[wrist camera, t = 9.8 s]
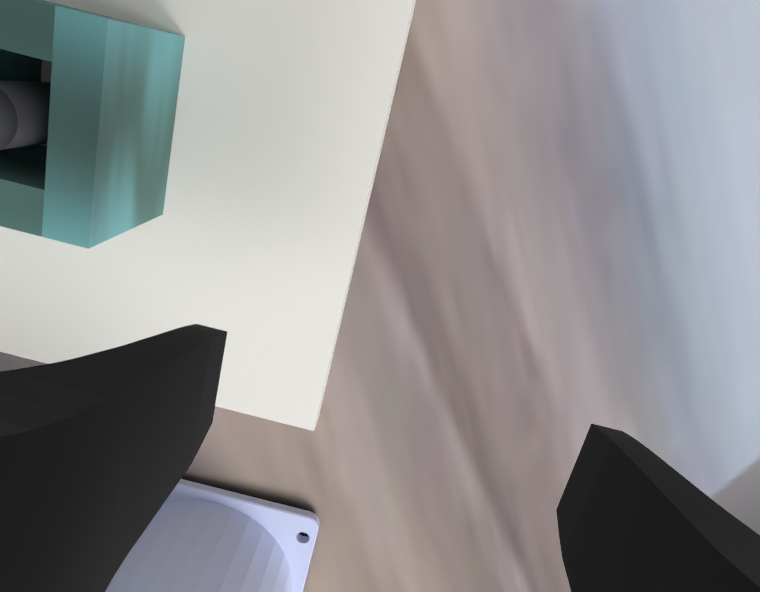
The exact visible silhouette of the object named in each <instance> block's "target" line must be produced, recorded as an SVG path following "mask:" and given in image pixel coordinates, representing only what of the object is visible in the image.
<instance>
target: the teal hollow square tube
mask: <svg viewBox="0 0 760 592" xmlns="http://www.w3.org/2000/svg"><path fill="white" fill-rule="evenodd" d="M184 42H185V36H182V35H178V34H174V33H170V32H166V31H163V30H159V29H155V28H151V27H147V26H143V25H139V24H135V23H131V22H128V21H124V20H120V19H116V18H112V17H108V16H104V15H100V14H97V13H93V12H89V11H85V10H81V9H77V8H73V7H69V6H66V5H62V4H58V3H54V2H50V1H46V0H0V81H35V82H41V70H42V60H46V61H50V62H52V72H51V89H50V106H49V123H48V140H47V147H46V146H42V145H32V146H25V147H17V148H10V149H3V150H0V226H2V227H6V228H9V229H13V230H17V231H21V232H25V233H29V234H33V235H37V236H41V237H44V238H48V239H52V240H56V241H60V242H64V243H68V244H72V245H76V246H80V247H83V248H87V249H89V248H91V247H93V246H96V245H98V244H100V243H102V242H104V241H106V240H109V239H111V238H113V237H115V236H117V235H119V234H122V233H124V232H126V231H128V230H130V229H132V228H135V227H137V226H139V225H141V224H143V223H145V222H148V221H150V220H152V219H154V218H156V217H158V216H161V215H163V210H164V202H165V194H166V186H167V178H168V170H169V162H170V154H171V146H172V138H173V130H174V122H175V114H176V106H177V98H178V90H179V82H180V74H181V66H182V58H183V50H184Z"/></svg>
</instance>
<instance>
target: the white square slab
mask: <svg viewBox="0 0 760 592" xmlns="http://www.w3.org/2000/svg"><path fill="white" fill-rule="evenodd" d="M46 1H50V2H54V3H58V4H62V5H66V6H69V7H73V8H77V9H81V10H85V11H89V12H93V13H97V14H100V15H104V16H108V17H112V18H116V19H120V20H124V21H128V22H131V23H135V24H139V25H143V26H147V27H151V28H155V29H159V30H163V31H166V32H170V33H174V34H178V35H182V36H185V42H184V50H183V58H182V66H181V74H180V82H179V90H178V98H177V106H176V114H175V122H174V130H173V138H172V146H171V154H170V162H169V170H168V178H167V186H166V194H165V202H164V210H163V215H161V216H158V217H156V218H154V219H152V220H150V221H148V222H145V223H143V224H141V225H139V226H137V227H135V228H132V229H130V230H128V231H126V232H124V233H122V234H119V235H117V236H115V237H113V238H111V239H109V240H106V241H104V242H102V243H100V244H98V245H96V246H93V247H91V248H89V249H87V248H83V247H80V246H76V245H72V244H68V243H64V242H60V241H56V240H52V239H48V238H44V237H41V236H37V235H33V234H29V233H25V232H21V231H17V230H13V229H9V228H6V227H2V226H0V352H3V353H7V354H11V355H15V356H19V357H23V358H27V359H31V360H35V361H39V362H43V363H47V364H51V363H56V362H61V361H65V360H70V359H74V358H78V357H82V356H85V355H89V354H93V353H97V352H101V351H104V350H108V349H112V348H116V347H119V346H123V345H126V344H129V343H132V342H136V341H139V340H142V339H145V338H148V337H151V336H155V335H158V334H161V333H164V332H167V331H170V330H174V329H177V328H180V327H184V326H188V325H193V324H199V325H203V326H207V327H211V328H215V329H219V330H223V331H227V337H226V343H225V349H224V355H223V361H222V367H221V373H220V379H219V385H218V391H217V397H216V403H215V406H217V407H221V408H225V409H229V410H233V411H237V412H241V413H245V414H249V415H253V416H257V417H260V418H264V419H268V420H272V421H276V422H280V423H284V424H288V425H292V426H296V427H300V428H304V429H308V430H312V431H314V429H315V426H316V423H317V421H318V418H319V414H320V409H321V405H322V401H323V397H324V392H325V388H326V384H327V380H328V375H329V371H330V367H331V362H332V358H333V354H334V350H335V345H336V341H337V337H338V333H339V328H340V324H341V320H342V316H343V311H344V307H345V303H346V298H347V294H348V290H349V286H350V281H351V277H352V273H353V269H354V264H355V260H356V256H357V251H358V247H359V243H360V239H361V234H362V230H363V226H364V222H365V217H366V213H367V209H368V204H369V200H370V196H371V192H372V187H373V183H374V179H375V175H376V170H377V166H378V162H379V158H380V153H381V149H382V145H383V140H384V136H385V132H386V128H387V123H388V119H389V115H390V111H391V106H392V102H393V98H394V93H395V89H396V85H397V81H398V76H399V72H400V68H401V64H402V59H403V55H404V51H405V46H406V42H407V38H408V34H409V29H410V25H411V21H412V17H413V12H414V8H415V4H416V0H46ZM51 72H52V62H50V61H46V60H42V70H41V82H35V81H0V150H3V149H10V148H17V147H25V146H32V145H42V146H46V147H47V140H48V123H49V106H50V89H51Z"/></svg>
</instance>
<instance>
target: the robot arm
mask: <svg viewBox="0 0 760 592" xmlns="http://www.w3.org/2000/svg"><path fill="white" fill-rule="evenodd" d="M226 337H227V331H223V330H219V329H215V328H211V327H207V326H203V325H199V324H193V325H188V326H184V327H180V328H177V329H174V330H170V331H167V332H164V333H161V334H158V335H155V336H151V337H148V338H145V339H142V340H139V341H136V342H132V343H129V344H126V345H123V346H119V347H116V348H112V349H108V350H104V351H101V352H97V353H93V354H89V355H85V356H82V357H78V358H74V359H70V360H65V361H61V362H56V363H51V364H46V365H40V366H34V367H28V368H22V369H17V370H10V371H2V372H0V592H303V588H304V584H305V580H306V576H307V572H308V568H309V565H310V561H311V557H312V553H313V549H314V545H315V541H316V537H317V533H318V529H319V525H320V520H319V518H318V516H317V515H316V514H314V513H313V512H310V511H307V510H303V509H299V508H295V507H291V506H287V505H283V504H279V503H275V502H271V501H267V500H263V499H259V498H255V497H251V496H247V495H243V494H239V493H235V492H231V491H227V490H224V489H220V488H216V487H212V486H208V485H204V484H200V483H196V482H192V481H188V480H184V479H181V478H182V477H183V475H184V474H185V472H186V471H187V469H188V468H189V466H190V465H191V463H192V461H193V460H194V458H195V456H196V454H197V452H198V450H199V448H200V446H201V444H202V442H203V440H204V438H205V436H206V434H207V432H208V430H209V428H210V426H211V424H212V421H213V415H214V409H215V403H216V397H217V391H218V385H219V379H220V373H221V367H222V361H223V355H224V349H225V343H226ZM557 519H558V528H559V537H560V544H561V551H562V558H563V562H564V566H565V570H566V573H567V577H568V581H569V584H570V588H571V592H760V535H758V534H757V533H756V532H754V531H753V530H751V529H750V528H749V527H747V526H746V525H745V524H743V523H742V522H741V521H739V520H738V519H736V518H735V517H734V516H733V515H731V514H730V513H728V512H727V511H726V510H724V509H723V508H722V507H721V506H719V505H718V504H717V503H716V502H714V501H713V500H712V499H710V498H709V497H708V496H707V495H705V494H704V493H703V492H702V491H700V490H699V489H698V488H697V487H695V486H694V485H693V484H692V483H690V482H689V481H688V480H687V479H685V478H684V477H683V476H682V475H680V474H679V473H678V472H677V471H676V470H674V469H673V468H672V467H671V466H669V465H668V464H667V463H666V462H664V461H663V460H662V459H661V458H659V457H658V456H657V455H656V454H654V453H653V452H652V451H650V450H649V449H648V448H647V447H645V446H644V445H643V444H641V443H640V442H638V441H637V440H636V439H634V438H633V437H631V436H629V435H628V434H626V433H624V432H623V431H619V430H615V429H611V428H607V427H603V426H599V425H595V424H591V426H590V429H589V431H588V434H587V436H586V439H585V441H584V444H583V446H582V448H581V451H580V453H579V456H578V458H577V461H576V463H575V466H574V468H573V471H572V473H571V475H570V478H569V480H568V483H567V485H566V488H565V490H564V493H563V495H562V498H561V500H560V502H559V505H558V507H557ZM300 532H305V533H307V534H308V535H309V536H302V535H300Z"/></svg>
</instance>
